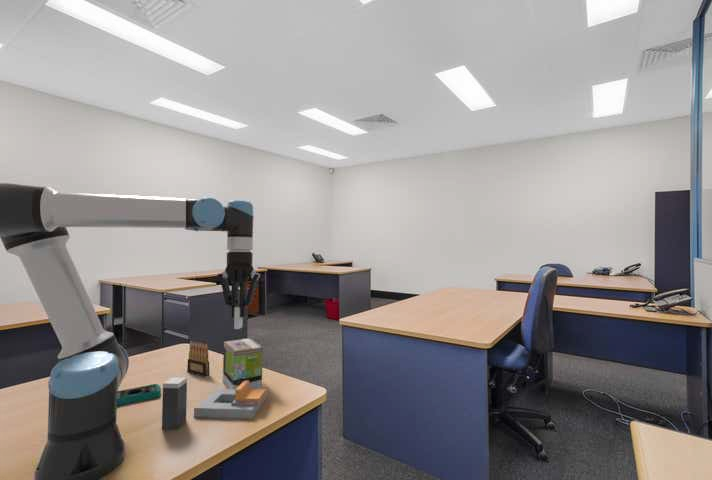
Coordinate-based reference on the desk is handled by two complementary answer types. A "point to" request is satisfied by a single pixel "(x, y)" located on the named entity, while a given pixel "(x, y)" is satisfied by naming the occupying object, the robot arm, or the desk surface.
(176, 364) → the desk surface
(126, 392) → the digital multimeter
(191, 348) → the ammunition clip
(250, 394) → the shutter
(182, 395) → the plug
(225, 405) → the socket plate
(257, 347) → the tea box
